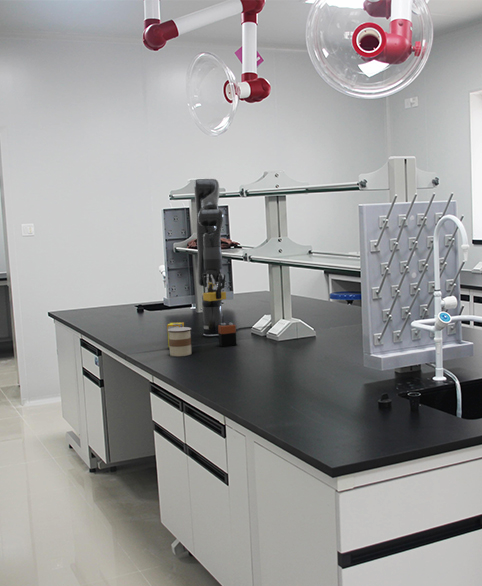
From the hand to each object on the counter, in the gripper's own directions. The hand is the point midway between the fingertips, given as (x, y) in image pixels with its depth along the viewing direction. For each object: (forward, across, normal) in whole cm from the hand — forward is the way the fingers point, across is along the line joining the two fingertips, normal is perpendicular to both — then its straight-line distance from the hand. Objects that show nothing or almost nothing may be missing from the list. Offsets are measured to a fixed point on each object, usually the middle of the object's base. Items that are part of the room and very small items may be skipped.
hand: (214, 298), depth 294 cm
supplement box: (+23, +22, +6) cm, 32 cm away
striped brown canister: (+23, +9, +12) cm, 28 cm away
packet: (+1, 0, 0) cm, 1 cm away
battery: (+23, +9, -12) cm, 27 cm away
